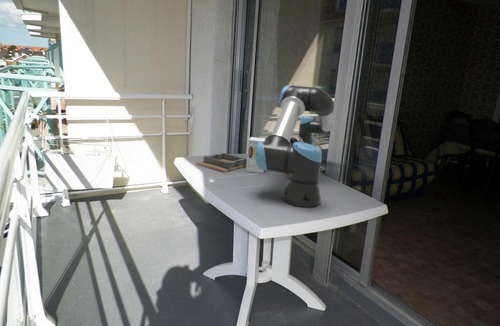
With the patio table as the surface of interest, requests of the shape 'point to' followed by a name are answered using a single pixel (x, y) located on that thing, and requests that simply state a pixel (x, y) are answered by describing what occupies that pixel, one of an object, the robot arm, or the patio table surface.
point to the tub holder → (223, 162)
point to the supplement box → (253, 155)
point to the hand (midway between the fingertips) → (269, 147)
